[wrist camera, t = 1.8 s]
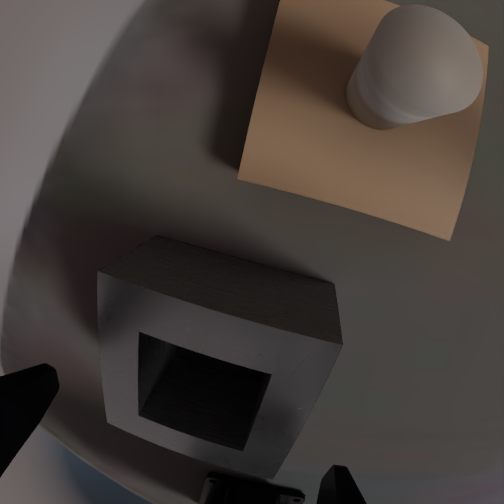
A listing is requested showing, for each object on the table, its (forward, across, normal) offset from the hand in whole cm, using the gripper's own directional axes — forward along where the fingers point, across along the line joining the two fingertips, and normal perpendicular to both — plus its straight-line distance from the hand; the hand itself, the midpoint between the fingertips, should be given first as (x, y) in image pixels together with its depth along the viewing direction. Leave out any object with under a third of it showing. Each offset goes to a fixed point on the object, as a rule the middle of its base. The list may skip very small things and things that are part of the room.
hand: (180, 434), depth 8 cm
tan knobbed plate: (+5, -3, -10) cm, 12 cm away
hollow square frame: (+5, 0, 0) cm, 5 cm away
